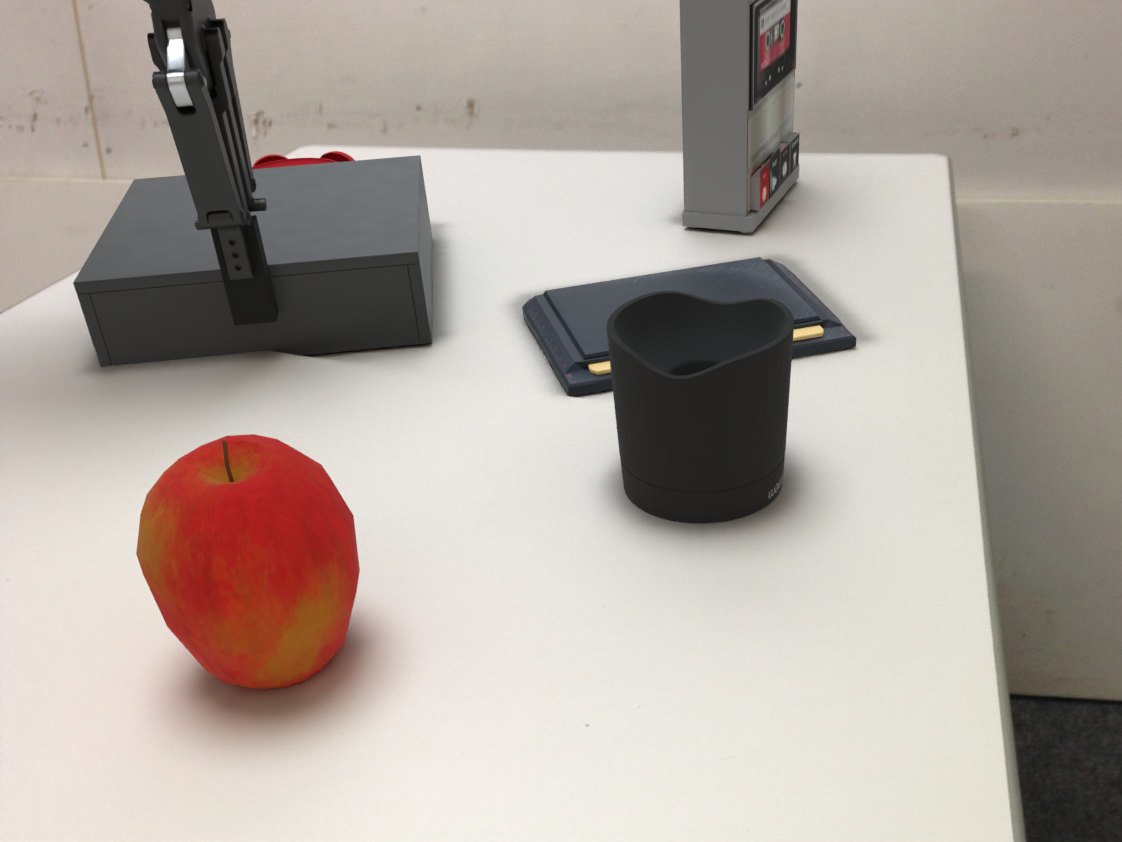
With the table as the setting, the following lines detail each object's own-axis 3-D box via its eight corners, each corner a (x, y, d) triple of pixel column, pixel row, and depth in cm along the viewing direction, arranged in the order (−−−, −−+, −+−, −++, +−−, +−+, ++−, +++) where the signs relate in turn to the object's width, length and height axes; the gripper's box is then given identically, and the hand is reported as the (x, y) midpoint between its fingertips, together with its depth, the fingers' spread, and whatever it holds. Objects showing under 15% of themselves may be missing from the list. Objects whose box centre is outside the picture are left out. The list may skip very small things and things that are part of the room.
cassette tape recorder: (755, 236, 101) (759, -130, 86) (682, 229, 103) (674, -130, 88) (801, 180, 111) (812, -156, 96) (734, 175, 113) (735, -155, 98)
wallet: (782, 244, 94) (862, 324, 82) (782, 269, 95) (860, 351, 84) (515, 282, 91) (558, 371, 79) (518, 307, 92) (561, 399, 80)
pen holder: (678, 559, 65) (673, 380, 59) (586, 484, 72) (572, 315, 66) (824, 502, 69) (832, 328, 63) (723, 435, 76) (722, 271, 69)
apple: (205, 618, 63) (136, 396, 56) (389, 603, 63) (343, 381, 56) (163, 744, 56) (77, 507, 48) (371, 726, 56) (316, 489, 49)
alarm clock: (210, 208, 101) (241, 112, 111) (232, 276, 106) (260, 178, 116) (341, 201, 101) (360, 106, 111) (358, 269, 106) (375, 172, 116)
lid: (102, 374, 86) (72, 282, 82) (156, 260, 102) (133, 179, 99) (432, 343, 87) (418, 251, 83) (432, 235, 104) (420, 154, 100)
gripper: (211, -78, 65) (306, 355, 79) (243, -111, 75) (321, 277, 89) (60, -67, 64) (182, 367, 79) (112, -103, 75) (212, 286, 89)
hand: (256, 318), depth 84 cm, fingers closed
